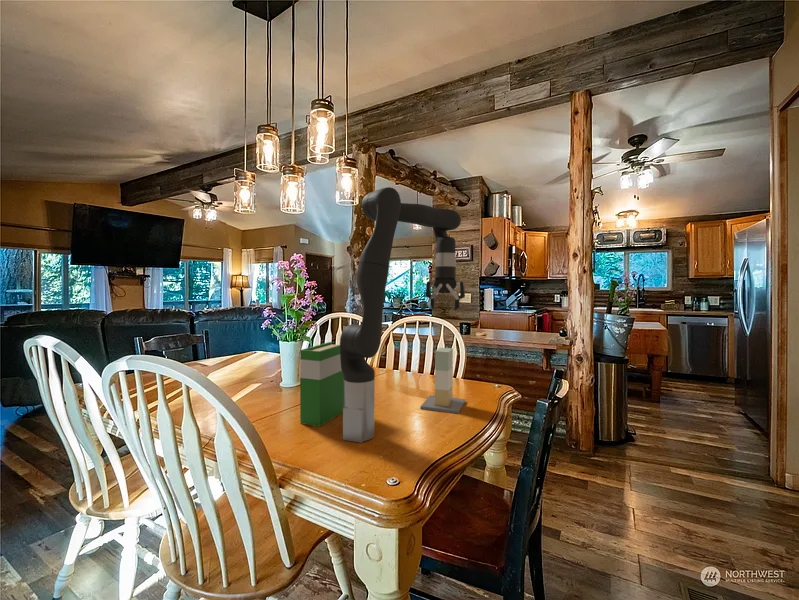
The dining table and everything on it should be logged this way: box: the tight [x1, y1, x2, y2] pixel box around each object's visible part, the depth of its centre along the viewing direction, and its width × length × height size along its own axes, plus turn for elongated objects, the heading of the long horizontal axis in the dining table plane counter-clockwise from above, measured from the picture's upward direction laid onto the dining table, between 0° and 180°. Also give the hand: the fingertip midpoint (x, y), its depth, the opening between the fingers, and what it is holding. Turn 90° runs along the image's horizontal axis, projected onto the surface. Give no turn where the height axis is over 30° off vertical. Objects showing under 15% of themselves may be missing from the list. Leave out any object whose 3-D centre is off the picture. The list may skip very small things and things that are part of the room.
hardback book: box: [299, 341, 344, 427], centre depth 126 cm, size 18×7×24 cm, turn 159°
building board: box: [420, 385, 466, 415], centre depth 138 cm, size 14×14×7 cm
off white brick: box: [434, 367, 454, 390], centre depth 138 cm, size 8×5×7 cm, turn 161°
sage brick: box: [434, 347, 454, 371], centre depth 138 cm, size 8×5×7 cm, turn 161°
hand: (444, 309), depth 137 cm, fingers open, 8 cm apart
